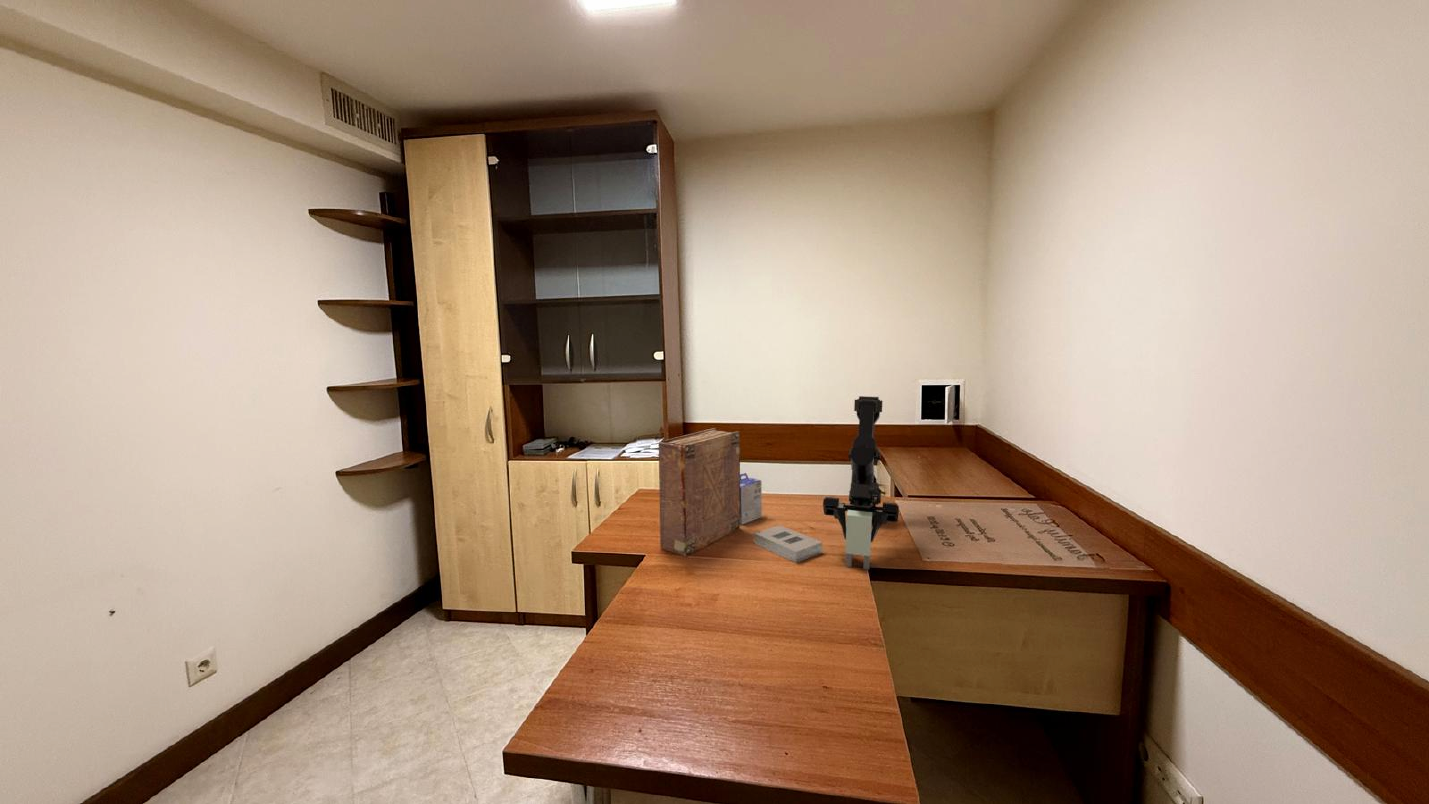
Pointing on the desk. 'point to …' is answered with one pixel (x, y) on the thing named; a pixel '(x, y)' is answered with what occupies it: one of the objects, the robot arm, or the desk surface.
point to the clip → (858, 536)
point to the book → (698, 489)
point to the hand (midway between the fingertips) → (858, 540)
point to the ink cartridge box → (750, 499)
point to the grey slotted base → (788, 543)
